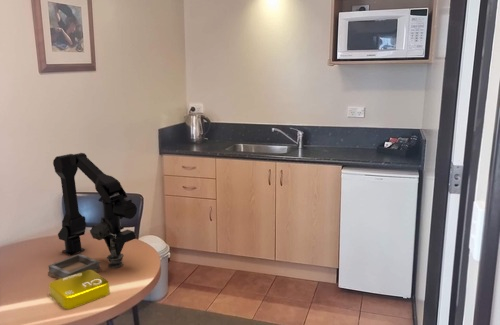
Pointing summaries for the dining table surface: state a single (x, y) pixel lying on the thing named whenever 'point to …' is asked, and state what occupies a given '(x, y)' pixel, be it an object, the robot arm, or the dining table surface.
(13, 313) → the dining table surface
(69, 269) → the socket
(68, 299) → the element tile
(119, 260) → the dark grey chess piece
